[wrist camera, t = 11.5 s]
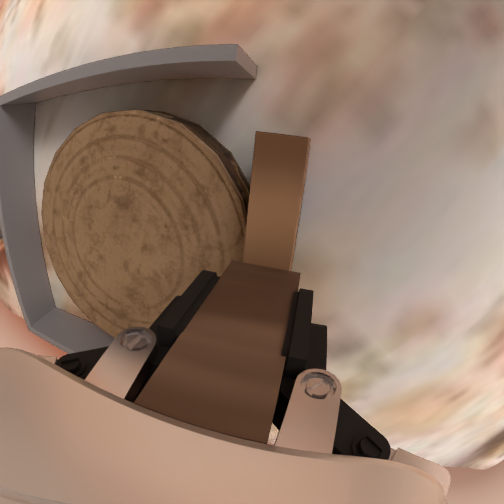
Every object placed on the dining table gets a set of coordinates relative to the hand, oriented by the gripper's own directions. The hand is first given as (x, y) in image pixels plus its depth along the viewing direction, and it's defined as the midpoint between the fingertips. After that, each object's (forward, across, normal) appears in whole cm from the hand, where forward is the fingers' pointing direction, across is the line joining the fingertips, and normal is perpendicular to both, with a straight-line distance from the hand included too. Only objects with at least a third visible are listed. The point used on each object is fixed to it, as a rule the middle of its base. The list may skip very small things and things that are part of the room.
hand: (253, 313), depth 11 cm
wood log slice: (+6, +9, 0) cm, 11 cm away
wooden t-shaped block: (+6, 0, 0) cm, 6 cm away
